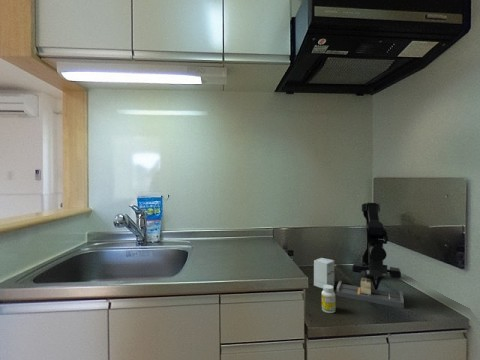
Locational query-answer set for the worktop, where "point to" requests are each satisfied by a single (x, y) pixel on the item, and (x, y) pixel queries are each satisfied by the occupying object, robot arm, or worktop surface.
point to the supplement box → (323, 272)
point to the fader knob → (366, 286)
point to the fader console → (375, 296)
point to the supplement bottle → (328, 299)
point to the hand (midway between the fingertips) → (375, 289)
